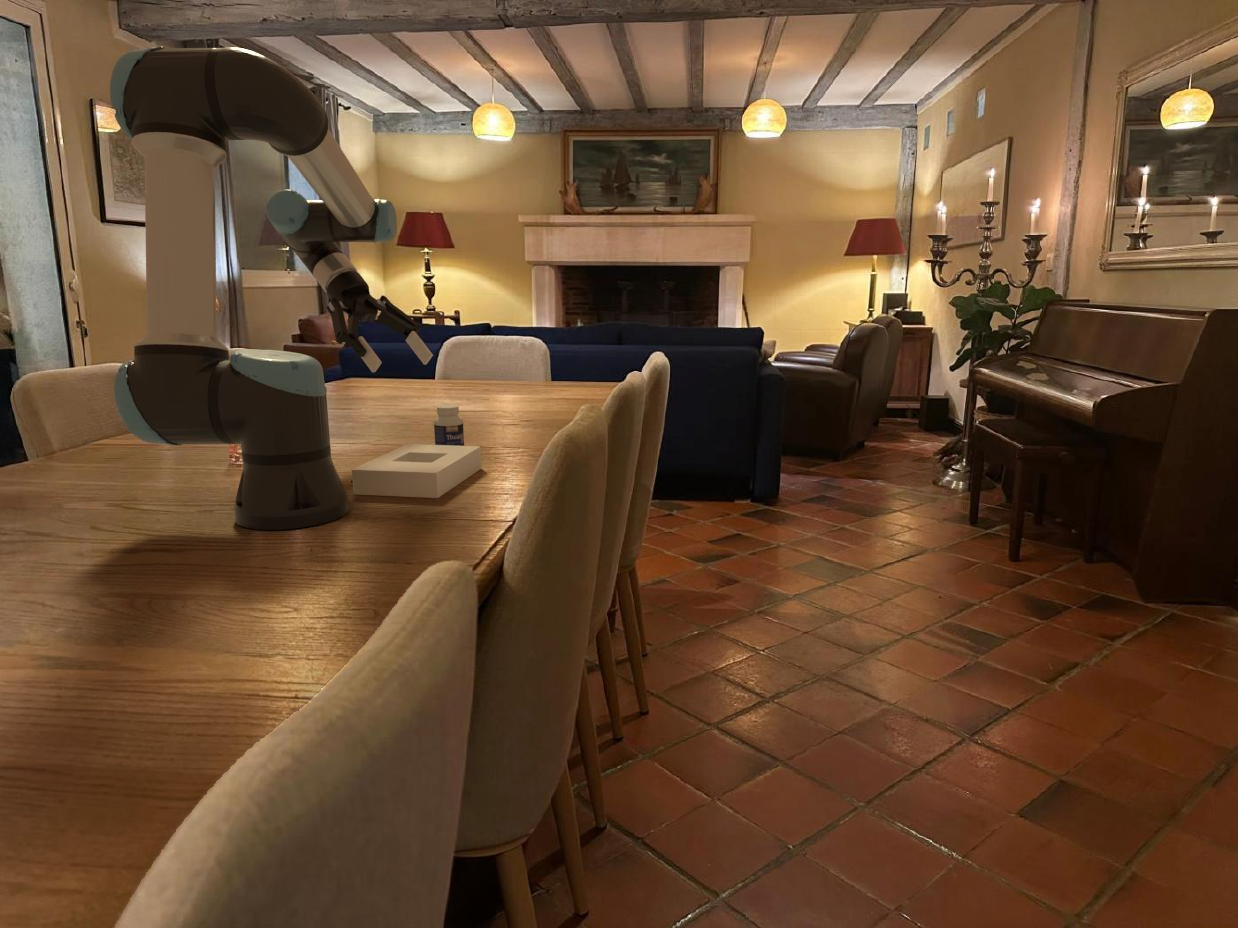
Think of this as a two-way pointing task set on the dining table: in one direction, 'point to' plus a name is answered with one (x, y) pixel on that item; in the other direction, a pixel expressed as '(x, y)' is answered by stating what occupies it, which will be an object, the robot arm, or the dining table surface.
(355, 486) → the socket block
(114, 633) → the dining table surface
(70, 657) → the dining table surface
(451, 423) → the pill bottle
